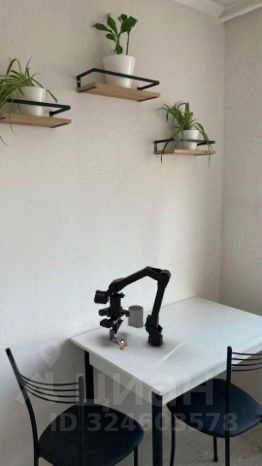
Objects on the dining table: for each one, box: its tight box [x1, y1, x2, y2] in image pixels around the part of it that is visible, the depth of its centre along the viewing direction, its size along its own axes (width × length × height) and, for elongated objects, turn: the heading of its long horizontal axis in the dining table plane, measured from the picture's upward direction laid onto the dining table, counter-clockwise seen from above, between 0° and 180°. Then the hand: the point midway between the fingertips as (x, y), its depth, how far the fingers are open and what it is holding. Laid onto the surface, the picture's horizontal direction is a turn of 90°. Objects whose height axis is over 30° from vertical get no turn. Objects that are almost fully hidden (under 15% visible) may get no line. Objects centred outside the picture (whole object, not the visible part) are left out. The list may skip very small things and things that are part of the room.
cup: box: [127, 304, 144, 329], centre depth 219 cm, size 8×8×10 cm
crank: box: [108, 328, 128, 347], centre depth 194 cm, size 10×4×6 cm, turn 58°
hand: (115, 333), depth 198 cm, fingers closed
